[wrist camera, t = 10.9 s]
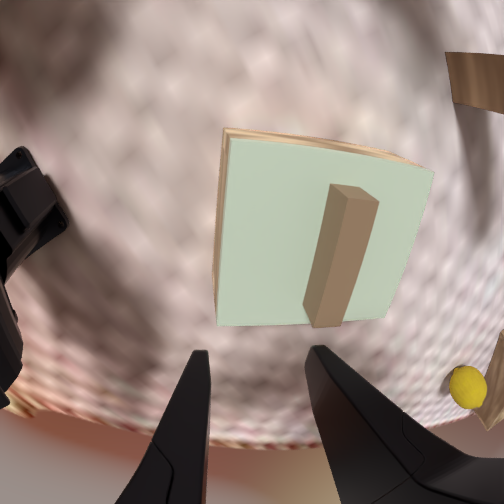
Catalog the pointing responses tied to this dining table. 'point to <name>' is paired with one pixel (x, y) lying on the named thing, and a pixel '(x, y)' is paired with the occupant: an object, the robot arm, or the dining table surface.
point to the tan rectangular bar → (477, 80)
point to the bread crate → (494, 389)
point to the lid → (314, 234)
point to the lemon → (468, 387)
